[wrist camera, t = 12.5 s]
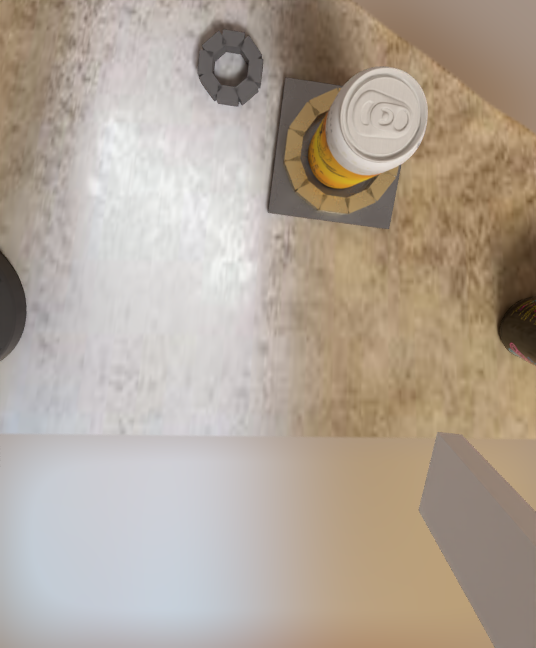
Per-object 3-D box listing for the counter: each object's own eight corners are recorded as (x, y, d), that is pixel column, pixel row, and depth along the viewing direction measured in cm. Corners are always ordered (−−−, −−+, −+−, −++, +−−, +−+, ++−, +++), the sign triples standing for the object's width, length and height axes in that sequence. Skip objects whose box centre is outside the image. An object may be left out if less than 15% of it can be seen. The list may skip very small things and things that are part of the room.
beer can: (315, 114, 39) (347, 48, 24) (378, 129, 39) (447, 72, 25) (300, 182, 40) (323, 157, 26) (362, 195, 41) (418, 178, 26)
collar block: (268, 212, 42) (268, 212, 39) (285, 80, 39) (286, 69, 36) (386, 228, 42) (395, 229, 40) (411, 99, 40) (422, 90, 37)
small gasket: (198, 100, 39) (195, 95, 38) (204, 33, 38) (201, 25, 37) (257, 109, 40) (257, 104, 38) (265, 43, 38) (265, 35, 37)
